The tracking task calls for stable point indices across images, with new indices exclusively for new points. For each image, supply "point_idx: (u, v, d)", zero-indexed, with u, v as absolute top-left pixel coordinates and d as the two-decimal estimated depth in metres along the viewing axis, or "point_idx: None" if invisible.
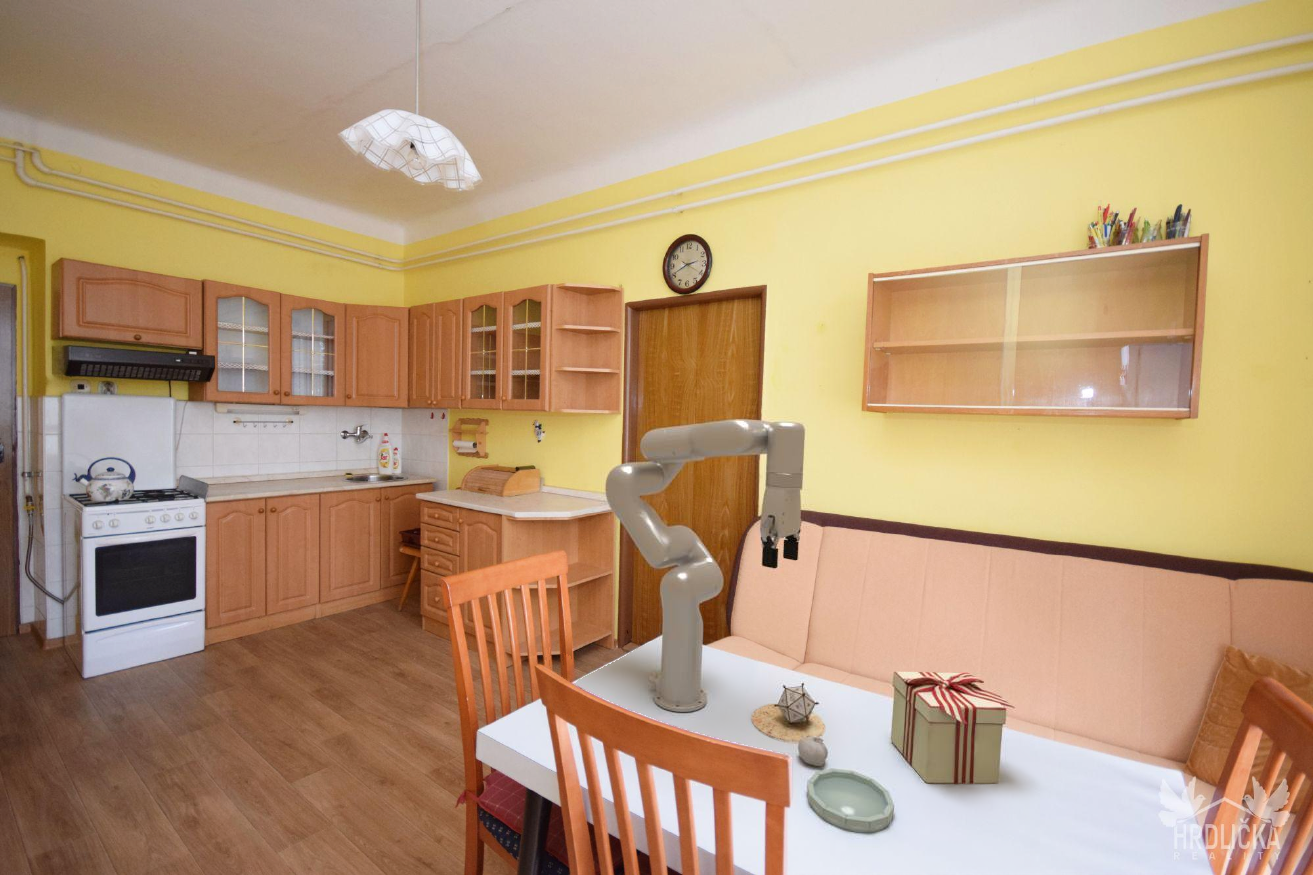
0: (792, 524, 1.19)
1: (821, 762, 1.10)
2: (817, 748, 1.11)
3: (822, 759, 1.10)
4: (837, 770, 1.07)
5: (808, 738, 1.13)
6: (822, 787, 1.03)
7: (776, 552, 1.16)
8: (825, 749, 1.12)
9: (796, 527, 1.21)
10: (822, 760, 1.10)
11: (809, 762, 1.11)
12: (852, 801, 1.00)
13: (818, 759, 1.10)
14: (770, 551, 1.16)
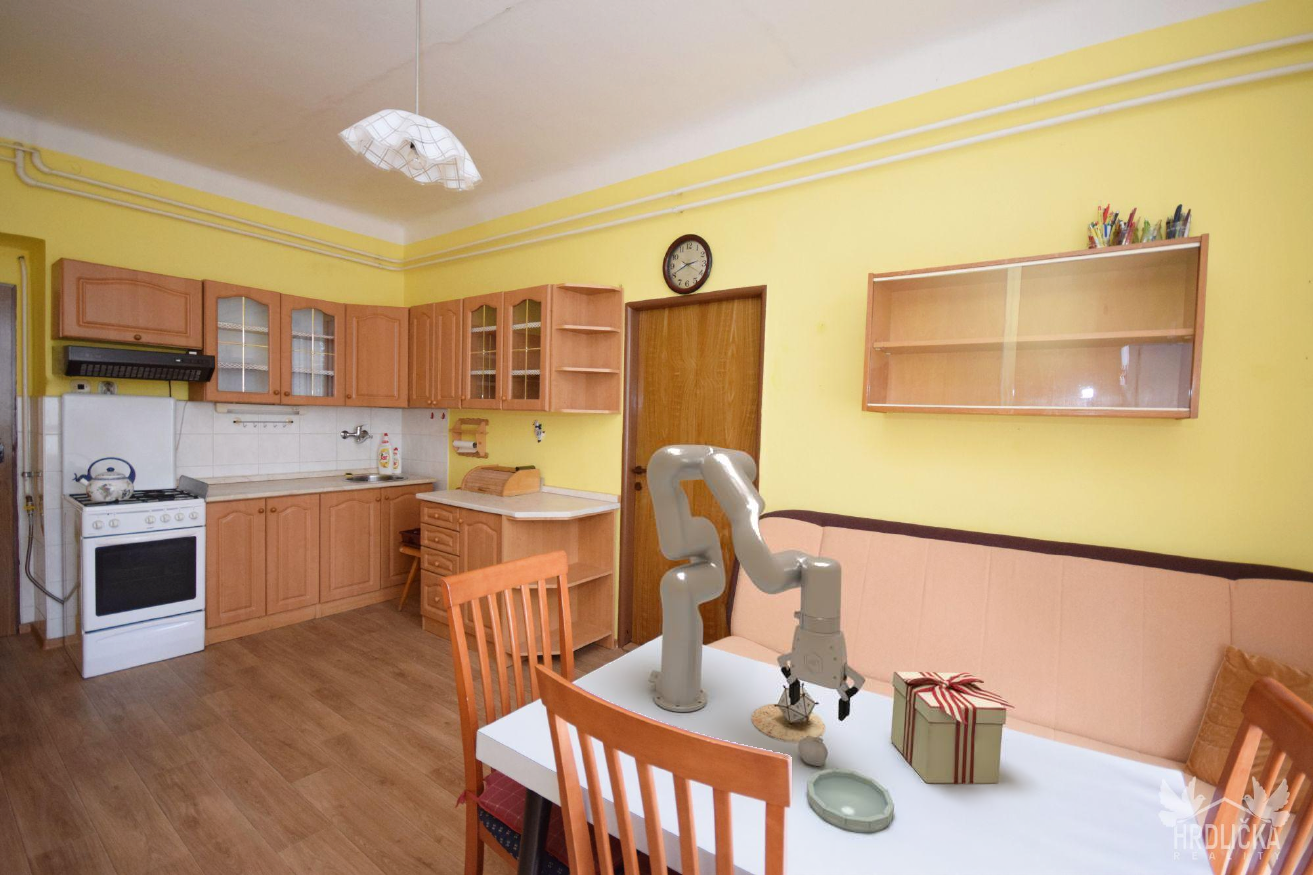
0: None
1: (821, 762, 1.10)
2: (817, 748, 1.11)
3: (822, 759, 1.10)
4: (837, 770, 1.07)
5: (808, 738, 1.13)
6: (822, 787, 1.03)
7: None
8: (825, 749, 1.12)
9: None
10: (822, 760, 1.10)
11: (809, 762, 1.11)
12: (852, 801, 1.00)
13: (818, 759, 1.10)
14: (849, 700, 1.09)
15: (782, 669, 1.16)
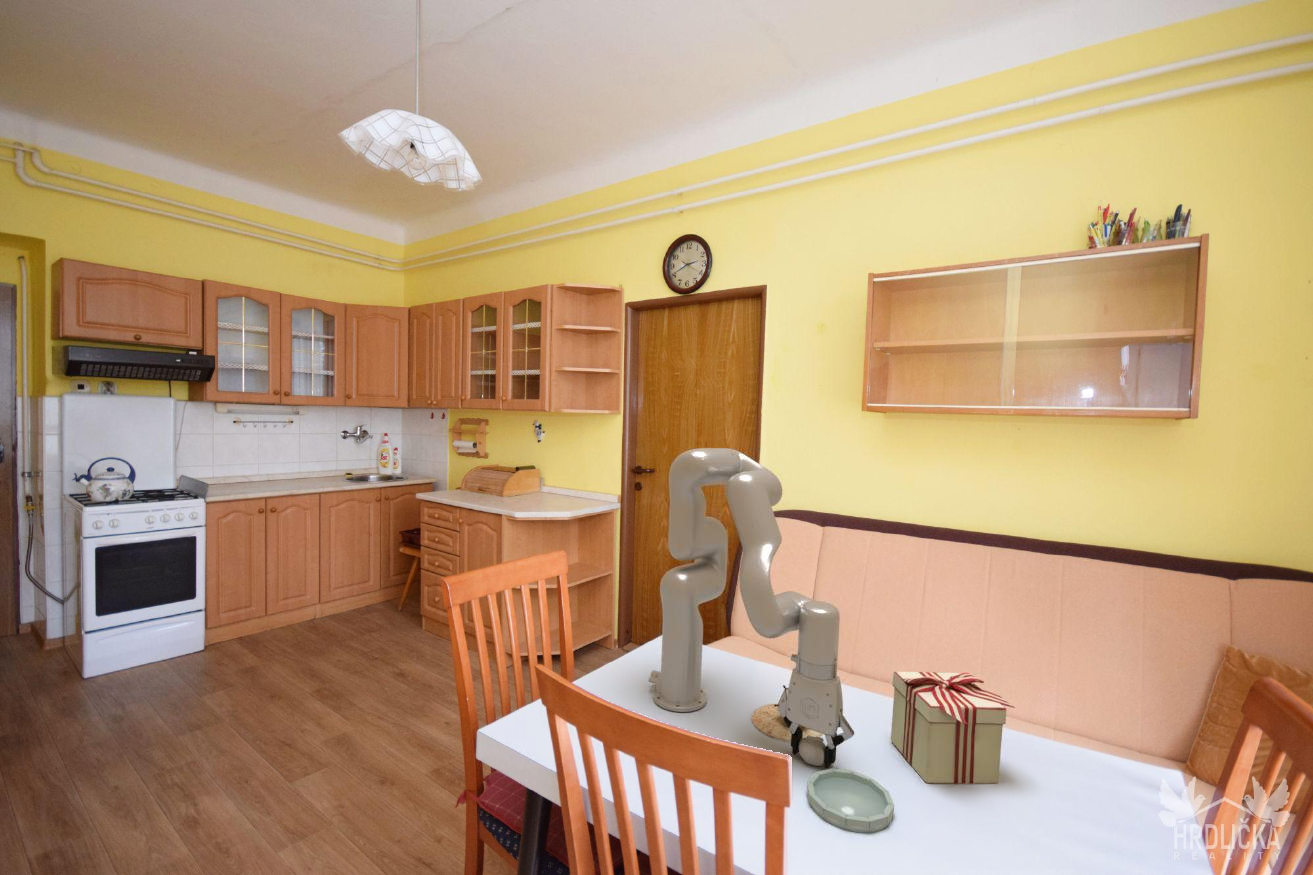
0: None
1: (821, 762, 1.10)
2: (817, 748, 1.11)
3: (823, 758, 1.10)
4: (837, 770, 1.07)
5: (808, 738, 1.13)
6: (822, 787, 1.03)
7: None
8: None
9: None
10: (822, 760, 1.10)
11: (810, 762, 1.11)
12: (852, 801, 1.00)
13: (818, 758, 1.10)
14: (835, 748, 1.11)
15: (785, 718, 1.16)
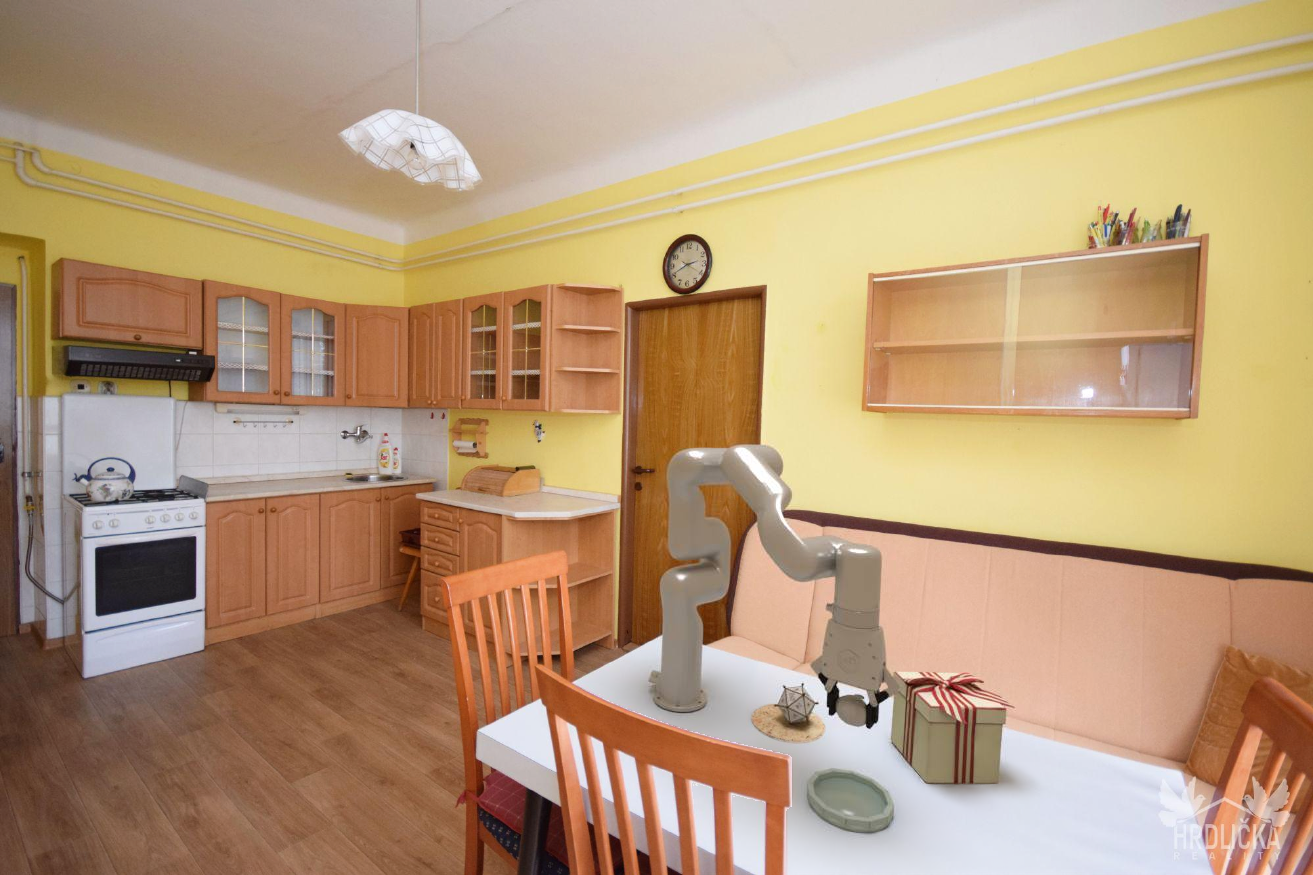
0: None
1: (863, 721, 0.98)
2: (858, 706, 0.98)
3: (865, 718, 0.98)
4: (837, 770, 1.07)
5: (847, 696, 1.01)
6: (822, 787, 1.03)
7: None
8: None
9: None
10: (864, 719, 0.98)
11: (849, 722, 0.99)
12: (852, 801, 1.00)
13: (859, 718, 0.98)
14: (878, 706, 0.98)
15: (819, 675, 1.03)
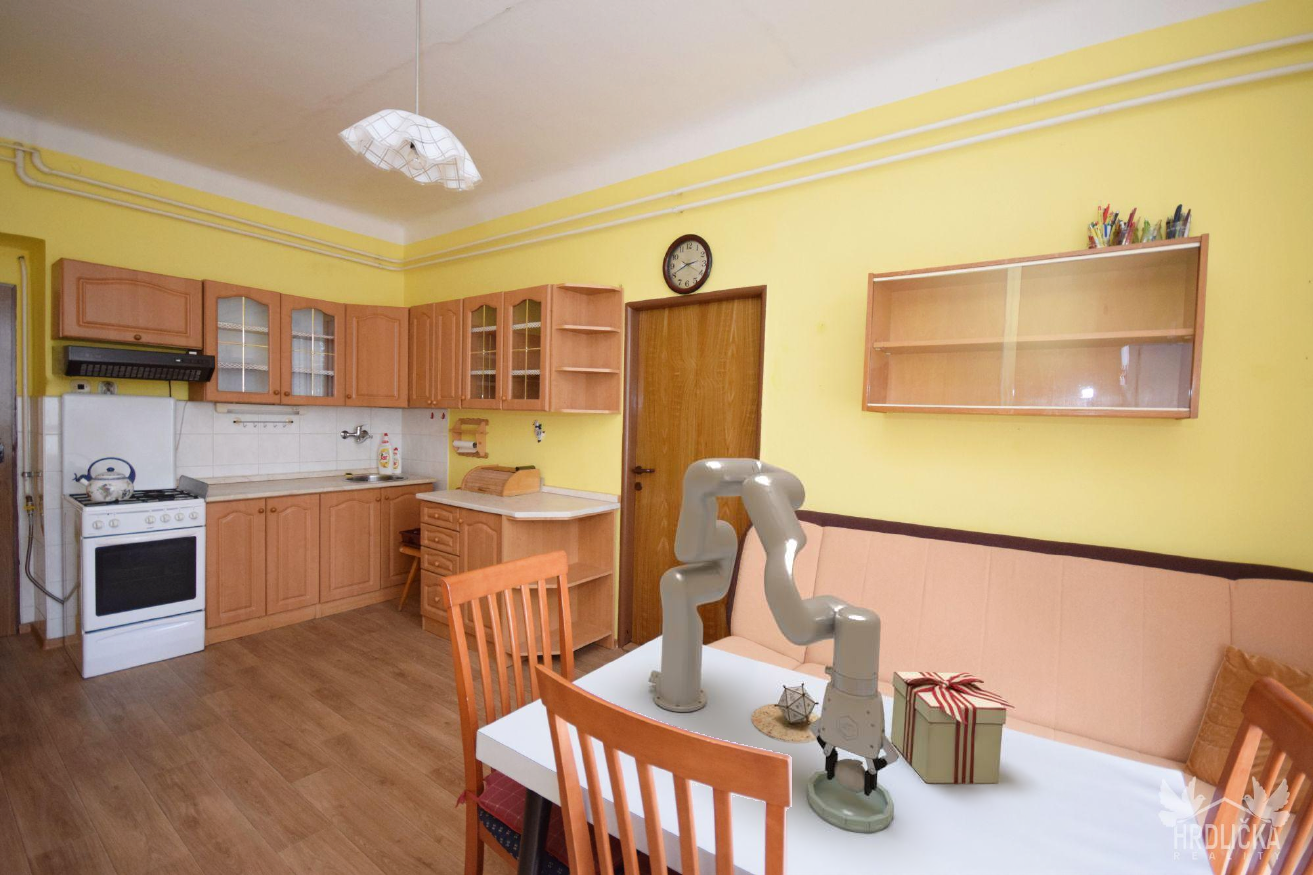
0: None
1: (861, 788, 0.98)
2: (856, 772, 0.98)
3: (863, 784, 0.97)
4: None
5: (845, 761, 1.01)
6: (822, 787, 1.03)
7: None
8: None
9: None
10: (862, 786, 0.97)
11: (848, 788, 0.98)
12: (852, 801, 1.00)
13: (858, 784, 0.98)
14: (877, 772, 0.98)
15: (818, 738, 1.03)
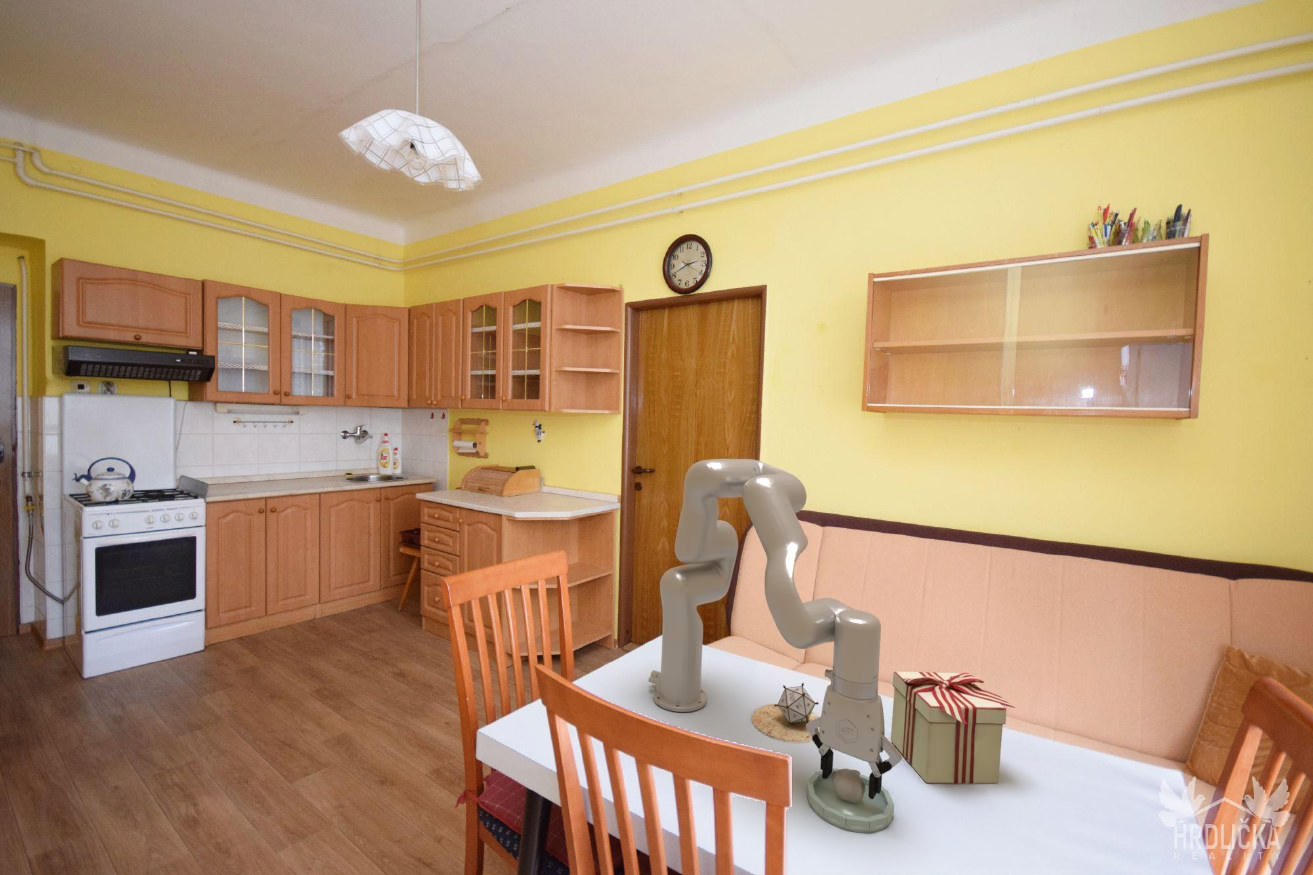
0: None
1: (859, 799, 0.98)
2: (853, 783, 0.98)
3: (860, 795, 0.98)
4: None
5: (843, 771, 1.01)
6: (822, 787, 1.03)
7: None
8: (862, 783, 0.99)
9: None
10: (860, 796, 0.98)
11: (845, 799, 0.99)
12: None
13: (855, 795, 0.98)
14: (881, 776, 0.98)
15: (813, 737, 1.03)
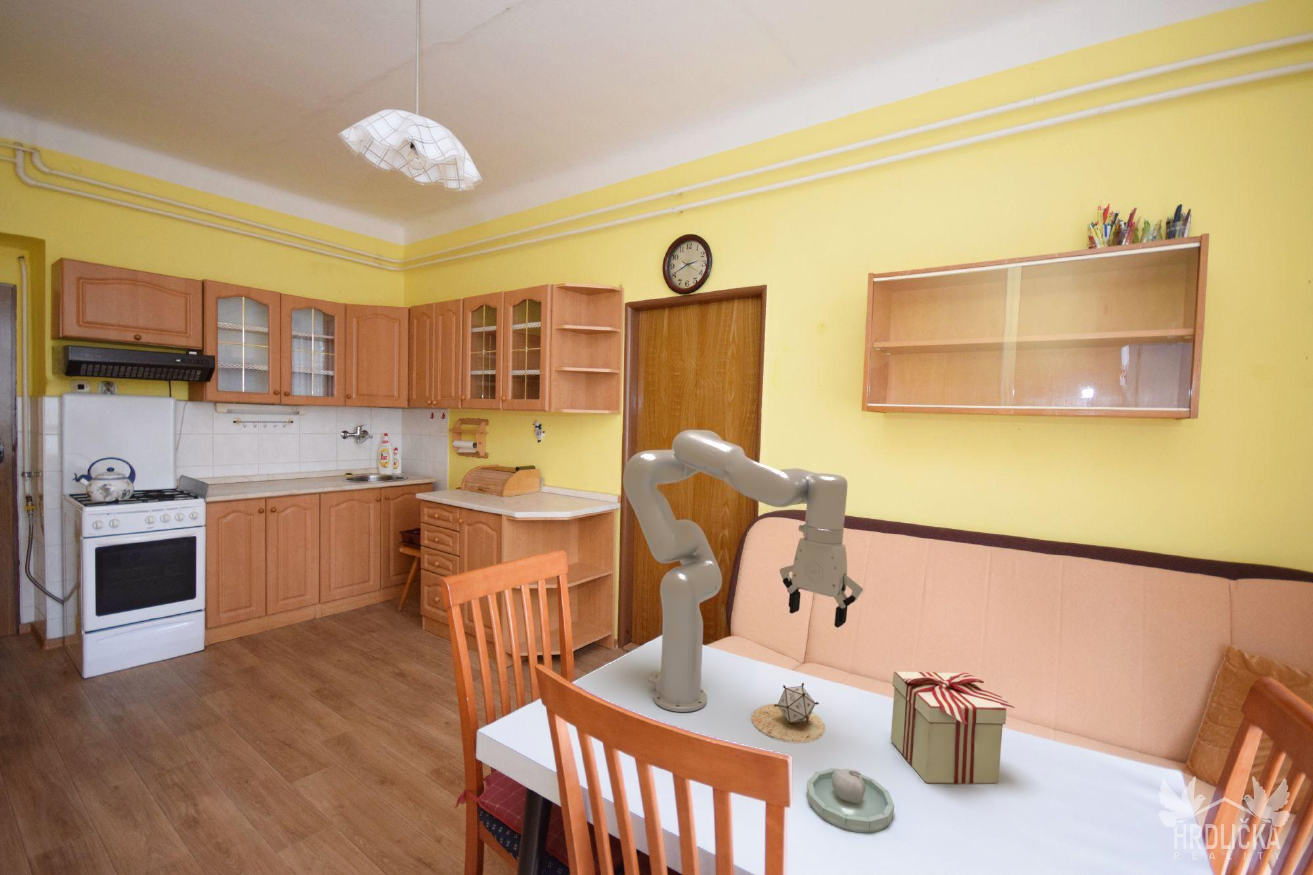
0: None
1: (859, 799, 0.98)
2: (854, 783, 0.98)
3: (860, 795, 0.98)
4: (837, 770, 1.07)
5: (843, 771, 1.01)
6: (822, 787, 1.03)
7: None
8: (863, 784, 0.99)
9: None
10: (860, 797, 0.98)
11: (845, 799, 0.99)
12: None
13: (855, 795, 0.98)
14: (846, 609, 1.14)
15: (784, 580, 1.21)
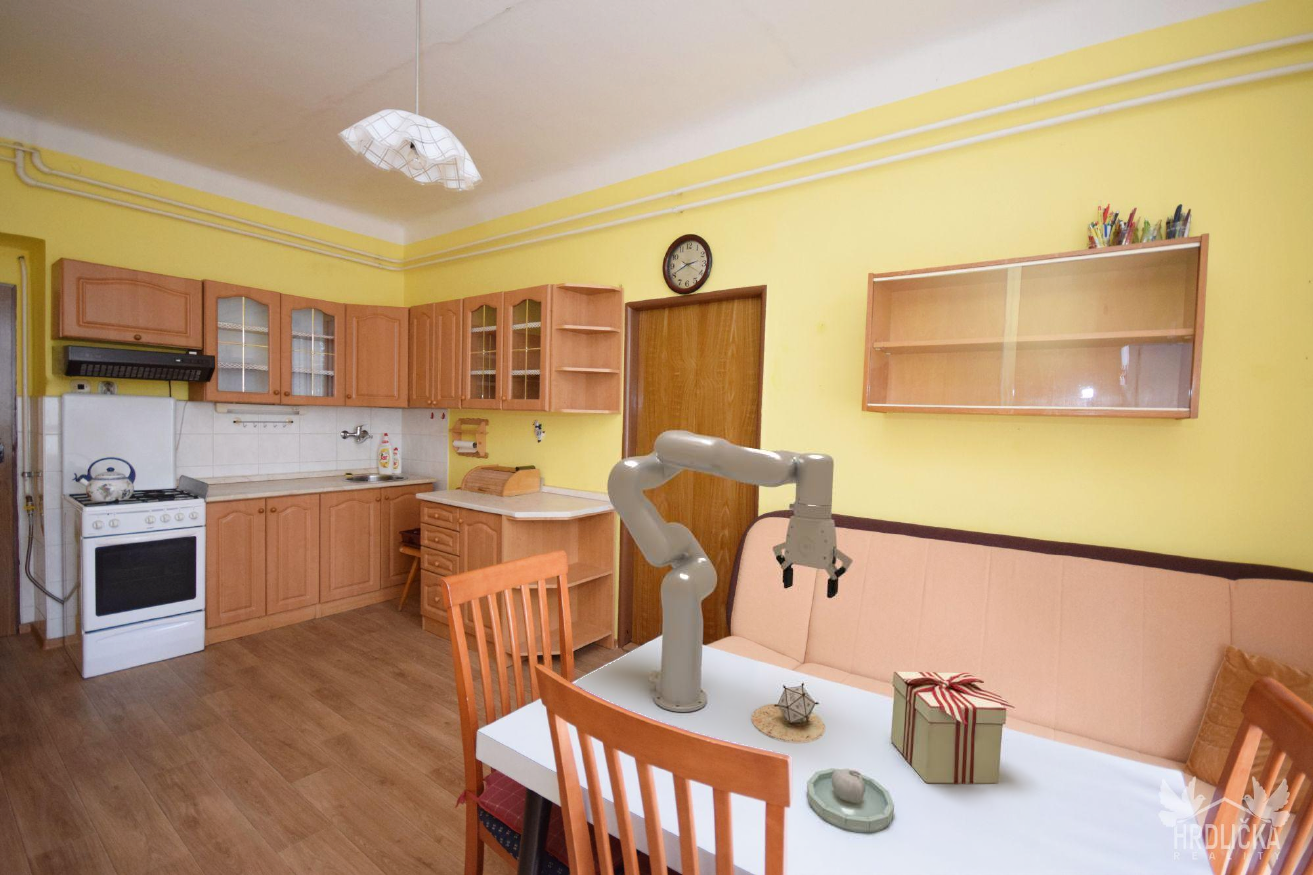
0: None
1: (859, 799, 0.98)
2: (854, 783, 0.98)
3: (860, 795, 0.98)
4: (837, 770, 1.07)
5: (843, 771, 1.01)
6: (822, 787, 1.03)
7: None
8: (863, 784, 0.99)
9: None
10: (860, 797, 0.98)
11: (845, 799, 0.99)
12: None
13: (855, 795, 0.98)
14: (837, 580, 1.20)
15: (777, 557, 1.27)
